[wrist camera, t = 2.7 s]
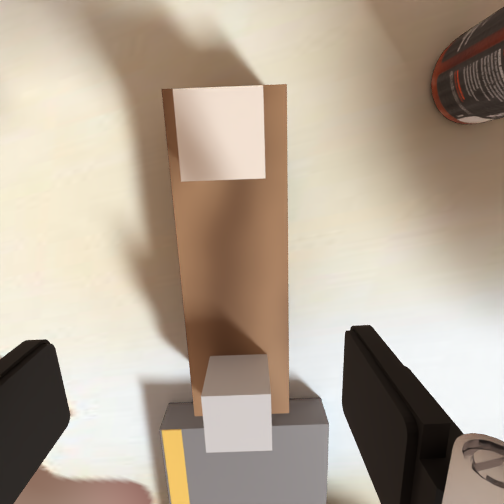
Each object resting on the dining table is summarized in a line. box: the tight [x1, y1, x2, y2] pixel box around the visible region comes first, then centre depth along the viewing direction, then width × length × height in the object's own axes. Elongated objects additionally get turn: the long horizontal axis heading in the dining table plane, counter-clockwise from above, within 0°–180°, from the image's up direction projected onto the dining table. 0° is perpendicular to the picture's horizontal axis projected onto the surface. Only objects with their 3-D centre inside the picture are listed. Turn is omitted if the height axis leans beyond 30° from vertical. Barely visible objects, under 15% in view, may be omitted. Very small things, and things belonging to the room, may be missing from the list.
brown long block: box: [162, 84, 289, 416], centre depth 22 cm, size 7×22×5 cm, turn 2°
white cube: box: [201, 354, 272, 453], centre depth 20 cm, size 4×4×4 cm
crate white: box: [173, 85, 265, 182], centre depth 16 cm, size 4×4×4 cm
